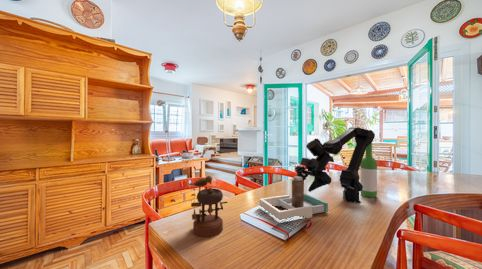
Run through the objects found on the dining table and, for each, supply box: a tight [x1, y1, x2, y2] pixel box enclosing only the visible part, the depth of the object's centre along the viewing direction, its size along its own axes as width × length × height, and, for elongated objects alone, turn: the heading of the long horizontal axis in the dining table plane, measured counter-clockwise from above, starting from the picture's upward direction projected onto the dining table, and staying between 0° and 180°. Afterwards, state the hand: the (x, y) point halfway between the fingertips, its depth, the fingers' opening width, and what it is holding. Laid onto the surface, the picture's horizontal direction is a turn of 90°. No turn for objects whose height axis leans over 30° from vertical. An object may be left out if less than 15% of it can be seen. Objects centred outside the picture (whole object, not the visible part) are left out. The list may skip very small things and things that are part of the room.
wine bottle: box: [360, 142, 378, 198], centre depth 109 cm, size 8×8×30 cm
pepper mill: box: [291, 175, 305, 208], centre depth 88 cm, size 5×5×14 cm
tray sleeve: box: [258, 194, 313, 220], centre depth 86 cm, size 16×17×4 cm
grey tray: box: [279, 192, 329, 215], centre depth 89 cm, size 16×15×4 cm
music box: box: [188, 175, 228, 239], centre depth 71 cm, size 15×11×20 cm
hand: (301, 188), depth 89 cm, fingers open, 9 cm apart
